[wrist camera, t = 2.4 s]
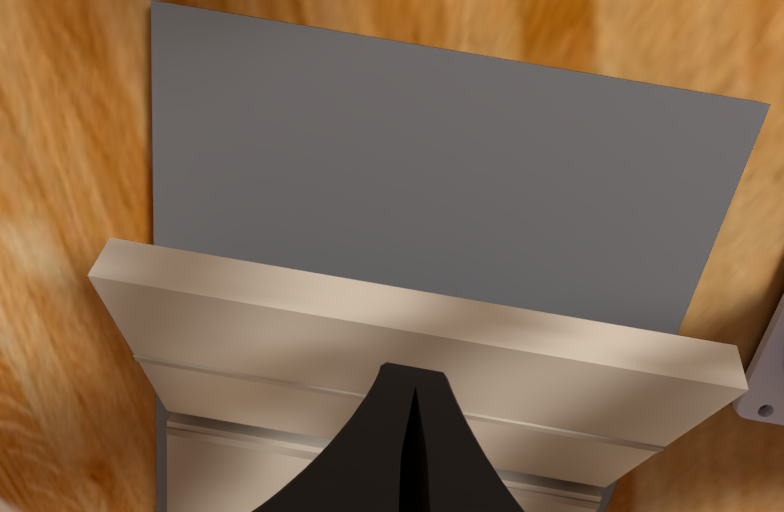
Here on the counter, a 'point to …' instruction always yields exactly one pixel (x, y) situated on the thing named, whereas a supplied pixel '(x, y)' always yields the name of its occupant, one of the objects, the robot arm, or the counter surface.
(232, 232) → the plate
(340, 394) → the loose plank
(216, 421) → the plank
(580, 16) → the counter surface
